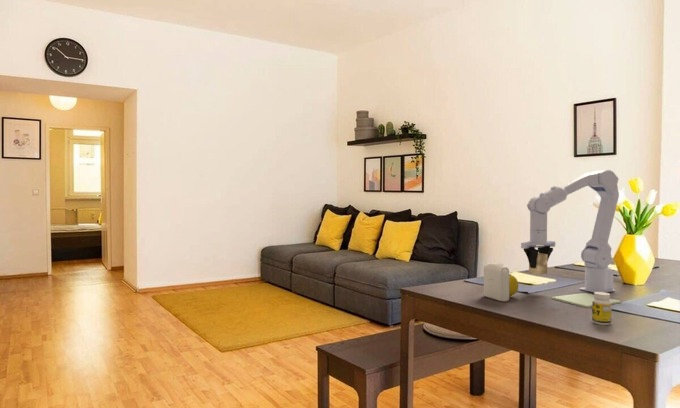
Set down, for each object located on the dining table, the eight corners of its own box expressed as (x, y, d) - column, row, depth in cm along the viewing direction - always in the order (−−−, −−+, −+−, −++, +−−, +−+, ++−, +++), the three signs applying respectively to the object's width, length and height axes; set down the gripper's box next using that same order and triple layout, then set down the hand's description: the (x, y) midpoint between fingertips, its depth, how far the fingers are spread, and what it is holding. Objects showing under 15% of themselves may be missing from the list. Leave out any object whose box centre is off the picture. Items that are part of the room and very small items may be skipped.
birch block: (537, 271, 183) (538, 252, 183) (547, 273, 179) (547, 254, 179) (528, 272, 181) (529, 253, 181) (538, 274, 177) (538, 254, 177)
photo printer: (481, 296, 174) (481, 260, 174) (491, 295, 175) (492, 260, 175) (500, 302, 164) (500, 265, 164) (511, 301, 166) (511, 264, 165)
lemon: (519, 299, 169) (519, 275, 169) (502, 298, 170) (502, 275, 170) (516, 295, 174) (517, 272, 174) (500, 294, 176) (500, 272, 175)
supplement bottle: (588, 320, 142) (589, 291, 141) (604, 320, 142) (604, 291, 142) (598, 325, 137) (599, 295, 137) (614, 325, 137) (615, 294, 137)
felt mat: (584, 294, 176) (585, 292, 176) (621, 302, 163) (621, 301, 163) (551, 298, 169) (551, 296, 169) (586, 307, 157) (586, 305, 157)
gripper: (544, 228, 186) (544, 264, 187) (515, 229, 180) (514, 267, 181) (560, 229, 180) (559, 267, 180) (529, 231, 174) (529, 270, 174)
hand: (538, 267), depth 180 cm, fingers closed on birch block, 4 cm apart
